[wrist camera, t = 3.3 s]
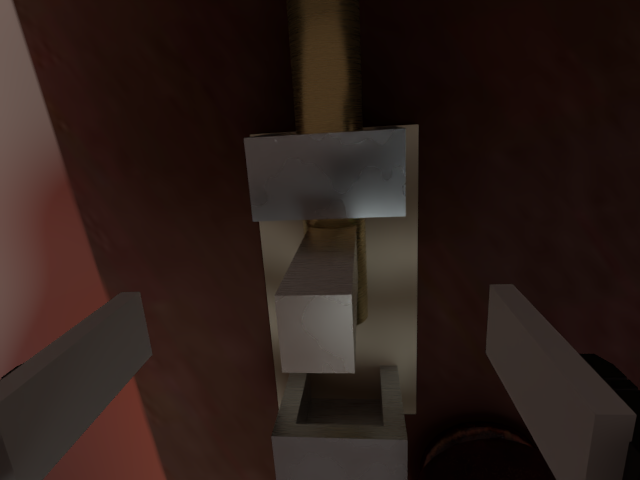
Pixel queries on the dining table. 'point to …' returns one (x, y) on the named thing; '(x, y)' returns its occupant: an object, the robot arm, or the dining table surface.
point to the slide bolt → (324, 234)
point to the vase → (483, 455)
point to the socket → (341, 433)
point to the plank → (383, 296)
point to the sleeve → (327, 174)
